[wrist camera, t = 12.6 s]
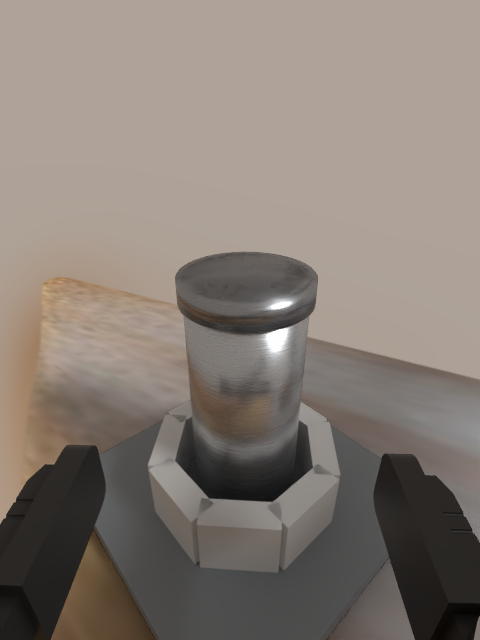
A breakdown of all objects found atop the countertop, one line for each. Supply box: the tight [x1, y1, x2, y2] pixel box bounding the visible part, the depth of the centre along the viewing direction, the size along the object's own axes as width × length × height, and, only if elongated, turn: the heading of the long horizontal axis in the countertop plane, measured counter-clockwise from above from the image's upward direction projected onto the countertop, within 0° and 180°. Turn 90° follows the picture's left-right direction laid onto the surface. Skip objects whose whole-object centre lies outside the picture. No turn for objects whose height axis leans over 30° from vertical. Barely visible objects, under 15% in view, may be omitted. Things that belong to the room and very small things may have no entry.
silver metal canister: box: [175, 252, 318, 502], centre depth 17 cm, size 5×5×12 cm
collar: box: [94, 400, 389, 640], centre depth 20 cm, size 14×14×4 cm
